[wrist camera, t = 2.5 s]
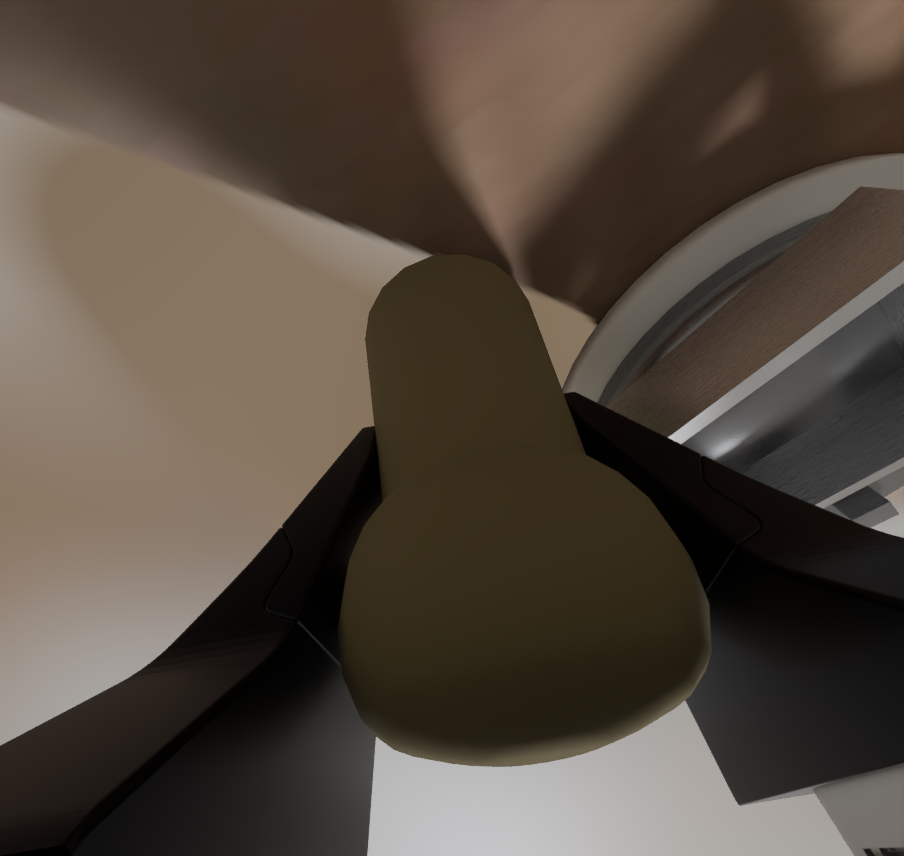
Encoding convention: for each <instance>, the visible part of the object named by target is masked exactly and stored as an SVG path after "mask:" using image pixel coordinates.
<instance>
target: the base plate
mask: <svg viewBox="0 0 904 856" xmlns="http://www.w3.org/2000/svg"><path fill="white" fill-rule="evenodd" d="M860 186H862V187H873V188H884V189H896V190H904V153H888V154H878V155H868V156H857V157H853V158H849V159H845V160H841V161H837V162H833V163H829V164H825V165H821V166H817V167H815V168H812V169H809V170H807V171H804V172H802V173H799V174H796V175H794V176H791V177H789V178H786V179H783V180H781V181H778V182H776V183H774V184H772V185H770V186H768V187H766V188H764V189H762V190H760V191H758V192H756V193H754V194H752V195H750V196H749V197H747V198H745V199H743V200H741V201H739V202H737V203H735V204H734V205H732V206H731V207H729V208H727V209H726V210H724V211H723V212H721V213H720V214H718V215H717V216H715V217H713V218H712V219H710V220H709V221H707V222H706V223H704V224H702V225H701V226H699V227H698V228H697V229H695V230H694V231H693V232H692V233H690V234H689V235H688V236H686V237H685V238H684V239H683V240H681V241H680V242H679V243H677V244H676V245H675V246H674V247H672V248H671V249H670V250H668V251H667V252H666V253H665V254H663V255H662V256H661V257H660V258H659V259H658V260H657V261H656V262H655V263H654V264H653V265H652V266H651V267H649V268H648V269H647V270H646V271H645V272H644V273H643V274H642V275H641V276H640V277H639V278H638V279H637V280H636V281H634V283H633V284H632V285H631V286H630V287H629V288H628V289H627V290H626V291H625V293H624V294H623V295H622V296H621V297H620V298H619V299H618V300H617V302H616V303H615V304H614V305H613V306H612V307H611V308H610V309H609V311H608V312H607V313H606V315H605V316H604V317H603V319H602V320H601V321H600V323H599V324H598V326H597V327H596V328H595V330H594V331H593V333H592V334H591V335H590V337H589V338H588V340H587V341H586V343H585V345H584V346H583V348H582V350H581V352H580V353H579V355H578V357H577V358H576V360H575V362H574V363H573V365H572V368H571V370H570V372H569V375H568V377H567V379H566V381H565V383H564V386H563V388H562V391H563V393H568V392H576V393H579V394H581V395H583V396H585V397H587V398H589V399H591V400H593V401H595V402H598V400H599V398H600V396H601V394H602V392H603V390H604V389H605V387H606V385H607V383H608V382H609V380H610V379H611V377H612V376H613V374H614V373H615V371H616V370H617V368H618V367H619V365H620V364H621V362H622V361H623V360H624V358H625V357H626V356H627V355H628V353H629V352H630V351H631V350H632V349H633V347H634V346H635V345H636V344H637V343H638V341H639V340H640V339H641V338H642V336H643V335H644V334H645V333H646V332H647V331H648V330H649V329H650V328H651V327H652V326H653V325H654V324H655V323H656V322H657V321H658V320H659V319H660V318H661V317H662V316H663V315H664V314H665V313H666V312H667V311H668V310H669V309H670V308H671V307H672V306H674V305H675V304H676V303H677V302H678V301H679V300H681V299H682V298H683V297H684V296H685V295H687V294H688V293H689V292H690V291H691V290H692V289H694V288H695V287H696V286H697V285H698V284H700V283H701V282H702V281H704V280H705V279H707V278H708V277H709V276H711V275H712V274H713V273H715V272H716V271H718V270H719V269H720V268H722V267H723V266H725V265H726V264H727V263H729V262H730V261H732V260H733V259H735V258H737V257H738V256H740V255H742V254H743V253H745V252H747V251H748V250H750V249H752V248H753V247H755V246H757V245H758V244H760V243H762V242H763V241H765V240H767V239H768V238H771V237H773V236H775V235H777V234H779V233H781V232H783V231H785V230H787V229H789V228H791V227H793V226H795V225H797V224H799V223H802V222H804V221H806V220H808V219H811V218H814V217H817V216H819V215H822V214H825V213H828V212H830V211H832V210H834V209H835V208H836V207H837V206H838V205H839V204H840V203H842V202H843V201H844V200H845V199H846V198H847V197H849V196H850V195H851V194H852V193H853V192H854V191H855V190H857V189H858V188H859V187H860Z"/></svg>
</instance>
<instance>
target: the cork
mask: <svg viewBox="0 0 904 856" xmlns="http://www.w3.org/2000/svg"><path fill="white" fill-rule="evenodd" d="M365 341H366V350H367V360H368V369H369V379H370V387H371V397H372V406H373V415H374V425H375V433H376V445H377V454H378V464H379V473H380V482H381V492H382V501H383V502H382V503H381V505H380V506H379V507H378V508H377V510H376V511H375V512H374V513H373V515H372V516H371V517H370V518H369V520H368V521H367V522H366V524H365V525H364V526H363V529H362V531H361V533H360V536H359V538H358V541H357V543H356V545H355V548H354V550H353V552H352V555H351V557H350V559H349V564H348V569H347V575H346V580H345V585H344V590H343V597H342V603H341V610H340V616H339V623H338V629H337V631H338V641H339V652H340V662H341V672H342V676H343V679H344V681H345V683H346V686H347V688H348V690H349V693H350V695H351V697H352V700H353V702H354V704H355V707H356V709H357V712H358V714H359V716H360V719H361V720H362V721H363V723H364V724H365V725H366V727H367V728H368V729H369V731H370V732H371V733H372V734H373V735H375V736H376V737H378V738H379V739H380V740H382V741H383V742H384V743H386V744H387V745H388V746H390V747H391V748H393V749H394V750H397V751H399V752H402V753H405V754H408V755H411V756H414V757H420V758H425V759H430V760H435V761H441V762H446V763H452V764H460V765H469V766H493V767H501V766H503V767H504V766H521V765H531V764H537V763H544V762H550V761H555V760H560V759H564V758H569V757H573V756H576V755H580V754H584V753H587V752H589V751H593V750H596V749H598V748H601V747H603V746H605V745H608V744H610V743H613V742H615V741H617V740H620V739H622V738H624V737H626V736H628V735H630V734H633V733H635V732H637V731H639V730H640V729H642V728H644V727H645V726H647V725H649V724H650V723H652V722H653V721H655V720H657V719H658V718H660V717H662V716H663V715H665V714H666V713H668V712H670V711H671V710H673V709H674V708H676V707H677V706H678V705H679V704H681V703H682V702H683V701H685V700H686V699H687V698H688V697H690V696H691V694H692V693H693V691H694V689H695V688H696V686H697V684H698V683H699V681H700V679H701V678H702V676H703V674H704V673H705V671H706V668H707V665H708V662H709V659H710V656H711V630H710V607H709V602H708V599H707V597H706V594H705V591H704V589H703V586H702V584H701V581H700V578H699V576H698V573H697V571H696V568H695V565H694V563H693V560H692V559H691V557H690V556H689V554H688V552H687V551H686V549H685V548H684V546H683V545H682V543H681V542H680V540H679V539H678V537H677V536H676V534H675V533H674V532H673V530H672V529H671V527H670V526H669V525H668V523H667V522H666V520H665V519H664V518H663V516H662V515H661V513H660V512H659V511H658V509H657V508H656V506H655V505H654V504H653V502H652V501H651V500H650V498H649V497H648V496H646V495H645V494H644V493H643V492H642V491H640V490H639V489H638V488H637V487H636V486H635V485H633V484H632V483H631V482H630V481H629V480H627V479H626V478H625V477H624V476H623V475H621V474H620V473H619V472H617V471H615V470H613V469H612V468H610V467H608V466H606V465H604V464H602V463H600V462H598V461H596V460H594V459H593V458H591V457H589V456H587V455H586V453H585V450H584V448H583V445H582V442H581V440H580V437H579V434H578V432H577V429H576V426H575V424H574V421H573V418H572V415H571V413H570V410H569V407H568V405H567V402H566V399H565V397H564V394H563V391H562V389H561V386H560V384H559V381H558V378H557V375H556V373H555V370H554V368H553V365H552V362H551V359H550V357H549V354H548V351H547V349H546V346H545V343H544V341H543V338H542V335H541V333H540V330H539V327H538V325H537V322H536V319H535V317H534V314H533V311H532V308H531V306H530V303H529V301H528V299H527V298H526V296H525V295H524V293H523V291H522V290H521V288H520V287H519V285H518V284H517V282H516V281H515V279H514V278H512V277H511V276H510V275H508V274H507V273H506V272H504V271H503V270H502V269H500V268H499V267H498V266H496V265H495V264H494V263H492V262H490V261H486V260H483V259H479V258H476V257H472V256H469V255H466V254H453V255H437V256H431V257H429V258H426V259H424V260H422V261H419V262H417V263H415V264H412V265H410V266H408V267H405V268H404V269H403V270H401V271H400V272H399V273H398V274H397V275H396V276H395V277H394V278H393V279H392V280H390V281H389V282H388V283H387V284H386V285H385V286H384V287H383V288H382V290H381V291H380V293H379V295H378V297H377V299H376V301H375V303H374V305H373V307H372V308H371V310H370V312H369V317H368V324H367V331H366V338H365Z"/></svg>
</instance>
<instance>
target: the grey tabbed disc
mask: <svg viewBox="0 0 904 856" xmlns="http://www.w3.org/2000/svg"><path fill="white" fill-rule="evenodd" d="M597 403H599V404H601V405H603V406H605V407H607V408H609V409H611V410H613V411H615V412H617V413H619V414H621V415H623V416H625V417H627V418H629V419H631V420H633V421H635V422H637V423H639V424H641V425H643V426H645V427H647V428H649V429H651V430H653V431H655V432H657V433H659V434H661V435H663V436H665V437H667V438H669V439H671V440H673V441H675V442H678V443H680V444H682V445H684V446H686V447H688V448H690V449H692V450H694V451H696V452H698V453H700V454H701V456H706V457H708V458H710V459H712V460H714V461H716V462H718V463H720V464H722V465H724V466H726V467H729V468H731V469H733V470H735V471H737V472H739V473H741V474H743V475H745V476H748V477H750V478H752V479H754V480H757V481H759V482H761V483H764V484H766V485H768V486H771V487H773V488H775V489H777V490H780V491H782V492H785V493H787V494H789V495H792V496H794V497H797V498H799V499H801V500H804V501H806V502H809V503H811V504H813V505H816V506H818V507H821V508H823V509H825V510H828V511H830V512H833V513H835V514H837V515H840V516H842V517H846V518H847V519H849V520H852V521H854V522H856V523H859V524H861V525H864V526H866V527H869V528H871V527H873V526H875V525H877V524H879V523H881V522H883V521H885V520H887V519H890V518H892V517H894V516H896V515H898V514H899V513H898V512H897V510H896V509H895V508H894V506H893V505H892V504H891V503H890V501H888V500H887V499H886V498H884V497H885V496H887V495H888V494H890V493H892V492H893V491H895V490H897V489H899V488H900V487H902V486H904V190H896V189H884V188H873V187H862V186H860V187H859V188H858V189H857V190H855V191H854V192H853V193H852V194H851V195H850V196H849V197H847V198H846V199H845V200H844V201H843V202H842V203H840V204H839V205H838V206H837V207H836V208H835V209H834V210H832V211H830V212H828V213H825V214H822V215H819V216H817V217H814V218H811V219H808V220H806V221H804V222H802V223H799V224H797V225H795V226H793V227H791V228H789V229H787V230H785V231H783V232H781V233H779V234H777V235H775V236H773V237H771V238H768V239H767V240H765V241H763V242H762V243H760V244H758V245H757V246H755V247H753V248H752V249H750V250H748V251H747V252H745V253H743V254H742V255H740V256H738V257H737V258H735V259H733V260H732V261H730V262H729V263H727V264H726V265H725V266H723V267H722V268H720V269H719V270H718V271H716V272H715V273H713V274H712V275H711V276H709V277H708V278H707V279H705V280H704V281H702V282H701V283H700V284H698V285H697V286H696V287H695V288H694V289H692V290H691V291H690V292H689V293H688V294H687V295H685V296H684V297H683V298H682V299H681V300H679V301H678V302H677V303H676V304H675V305H674V306H672V307H671V308H670V309H669V310H668V311H667V312H666V313H665V314H664V315H663V316H662V317H661V318H660V319H659V320H658V321H657V322H656V323H655V324H654V325H653V326H652V327H651V328H650V329H649V330H648V331H647V332H646V333H645V334H644V335H643V336H642V338H641V339H640V340H639V341H638V343H637V344H636V345H635V346H634V347H633V349H632V350H631V351H630V352H629V353H628V355H627V356H626V357H625V358H624V360H623V361H622V362H621V364H620V365H619V367H618V368H617V370H616V371H615V373H614V374H613V376H612V377H611V379H610V380H609V382H608V383H607V385H606V387H605V389H604V390H603V392H602V394H601V396H600V398H599V400H598V402H597Z"/></svg>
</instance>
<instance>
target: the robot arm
mask: <svg viewBox="0 0 904 856" xmlns="http://www.w3.org/2000/svg"><path fill="white" fill-rule="evenodd" d="M563 394H564V397H565V399H566V402H567V405H568V407H569V410H570V413H571V415H572V418H573V421H574V424H575V426H576V429H577V432H578V434H579V437H580V440H581V442H582V445H583V448H584V450H585V453H586V455H587V456H589V457H591V458H593V459H594V460H596V461H598V462H600V463H602V464H604V465H606V466H608V467H610V468H612V469H613V470H615V471H617V472H619V473H620V474H621V475H623V476H624V477H625V478H626V479H627V480H629V481H630V482H631V483H632V484H633V485H635V486H636V487H637V488H638V489H639V490H640V491H642V492H643V493H644V494H645V495H646V496H648V497H649V498H650V500H651V501H652V502H653V504H654V505H655V506H656V508H657V509H658V511H659V512H660V513H661V515H662V516H663V518H664V519H665V520H666V522H667V523H668V525H669V526H670V527H671V529H672V530H673V532H674V533H675V534H676V536H677V537H678V539H679V540H680V542H681V543H682V545H683V546H684V548H685V549H686V551H687V552H688V554H689V556H690V557H691V559H692V560H693V563H694V565H695V568H696V571H697V573H698V576H699V578H700V581H701V584H702V586H703V589H704V591H705V594H706V597H707V599H708V602H709V607H710V630H711V656H710V659H709V662H708V665H707V668H706V671H705V673H704V674H703V676H702V678H701V679H700V681H699V683H698V684H697V686H696V688H695V689H694V691H693V693H692V694H691V696H690V697H688V698H687V699H686V702H687V704H688V706H689V708H690V710H691V712H692V714H693V716H694V718H695V720H696V722H697V724H698V726H699V728H700V730H701V732H702V734H703V736H704V738H705V740H706V742H707V744H708V746H709V748H710V750H711V752H712V754H713V756H714V758H715V760H716V762H717V764H718V766H719V768H720V770H721V772H722V774H723V776H724V778H725V780H726V782H727V784H728V786H729V788H730V790H731V792H732V794H733V796H734V798H735V800H736V801H737V803H738V805H747V804H753V803H759V802H765V801H771V800H776V799H782V798H789V797H794V796H801V795H807V794H812V793H815V794H816V795H817V797H818V799H819V800H820V802H821V803H822V805H823V807H824V808H825V810H826V811H827V813H828V814H829V816H830V818H831V819H832V821H833V822H834V824H835V825H836V827H837V829H838V830H839V832H840V833H841V835H842V837H843V838H844V840H845V841H846V843H847V845H848V846H849V848H850V849H851V851H852V852H853V854H854V856H904V538H901V537H897V536H893V535H890V534H887V533H883V532H880V531H877V530H874V529H872V528H869V527H866V526H864V525H861V524H859V523H856V522H854V521H852V520H849V519H847V518H844V517H842V516H840V515H837V514H835V513H833V512H830V511H828V510H825V509H823V508H821V507H818V506H816V505H813V504H811V503H809V502H806V501H804V500H801V499H799V498H797V497H794V496H792V495H789V494H787V493H785V492H782V491H780V490H777V489H775V488H773V487H771V486H768V485H766V484H764V483H761V482H759V481H757V480H754V479H752V478H750V477H748V476H745V475H743V474H741V473H739V472H737V471H735V470H733V469H731V468H729V467H726V466H724V465H722V464H720V463H718V462H716V461H714V460H712V459H710V458H708V457H706V456H701V454H700V453H698V452H696V451H694V450H692V449H690V448H688V447H686V446H684V445H682V444H680V443H678V442H675V441H673V440H671V439H669V438H667V437H665V436H663V435H661V434H659V433H657V432H655V431H653V430H651V429H649V428H647V427H645V426H643V425H641V424H639V423H637V422H635V421H633V420H631V419H629V418H627V417H625V416H623V415H621V414H619V413H617V412H615V411H613V410H611V409H609V408H607V407H605V406H603V405H601V404H599V403H597V402H595V401H593V400H591V399H589V398H587V397H585V396H583V395H581V394H579V393H576V392H568V393H563ZM382 502H383V501H382V492H381V482H380V473H379V464H378V454H377V445H376V433H375V426H371V427H365V428H363V429H362V430H361V431H360V432H359V433H358V434H357V436H356V437H355V438H354V439H353V440H352V442H351V443H350V444H349V445H348V446H347V448H346V449H345V450H344V451H343V452H342V454H341V455H340V456H339V457H338V458H337V460H336V461H335V462H334V463H333V465H332V466H331V467H330V468H329V469H328V471H327V472H326V473H325V474H324V475H323V477H322V478H321V479H320V480H319V481H318V483H317V484H316V485H315V486H314V487H313V489H312V490H311V491H310V492H309V493H308V495H307V496H306V497H305V498H304V499H303V501H302V502H301V503H300V504H299V506H298V507H297V508H296V509H295V510H294V512H293V513H292V514H291V515H290V516H289V518H288V519H287V520H286V521H285V522H284V524H283V525H282V528H280V529H278V531H277V532H276V533H275V534H274V535H273V537H272V538H271V539H270V540H269V542H268V543H267V544H266V545H265V546H264V547H263V548H262V550H261V551H260V552H259V553H258V554H257V555H256V557H255V558H254V559H253V560H252V561H251V562H250V563H249V564H248V566H247V567H246V568H245V569H244V570H243V571H242V572H241V573H240V574H239V575H238V576H237V577H236V578H235V579H234V580H233V581H232V583H231V584H230V585H229V586H228V587H227V588H226V589H225V590H224V591H223V592H222V593H221V594H220V595H219V596H218V597H217V598H216V599H215V600H214V601H213V602H212V603H211V604H210V605H209V606H208V607H207V608H206V610H204V612H203V613H202V614H201V615H200V616H199V617H198V618H197V619H196V620H195V621H194V622H193V623H192V624H191V625H190V626H189V627H188V628H187V629H186V630H185V631H184V632H183V633H182V634H181V635H180V636H179V637H178V638H177V639H176V640H175V642H173V643H172V644H171V645H170V646H169V647H168V648H167V649H166V650H165V651H164V652H163V653H162V654H161V655H159V656H158V657H157V658H156V659H155V660H153V661H152V662H151V663H150V664H148V665H147V666H145V667H144V668H143V669H141V670H140V671H138V672H137V673H135V674H134V675H132V676H131V677H129V678H128V679H126V680H124V681H122V682H120V683H119V684H117V685H115V686H113V687H111V688H109V689H107V690H105V691H103V692H101V693H100V694H98V695H96V696H94V697H92V698H90V699H88V700H86V701H84V702H83V703H81V704H79V705H77V706H75V707H73V708H71V709H69V710H67V711H66V712H63V713H62V714H60V715H58V716H56V717H54V718H52V719H50V720H48V721H46V722H44V723H43V724H41V725H39V726H37V727H35V728H33V729H31V730H29V731H27V732H25V733H24V734H22V735H20V736H18V737H16V738H14V739H12V740H10V741H8V742H6V743H5V744H3V745H1V746H0V856H367V850H368V836H369V823H370V809H371V794H372V781H373V767H374V752H375V738H376V736H375V735H373V734H372V733H371V732H370V731H369V729H368V728H367V727H366V725H365V724H364V723H363V721H362V720H361V719H360V716H359V714H358V712H357V709H356V707H355V704H354V702H353V700H352V697H351V695H350V693H349V690H348V688H347V686H346V683H345V681H344V679H343V676H342V672H341V662H340V652H339V641H338V631H337V629H338V623H339V616H340V610H341V603H342V597H343V590H344V585H345V580H346V575H347V569H348V564H349V559H350V557H351V555H352V552H353V550H354V548H355V545H356V543H357V541H358V538H359V536H360V533H361V531H362V529H363V526H364V525H365V524H366V522H367V521H368V520H369V518H370V517H371V516H372V515H373V513H374V512H375V511H376V510H377V508H378V507H379V506H380V505H381V503H382Z"/></svg>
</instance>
